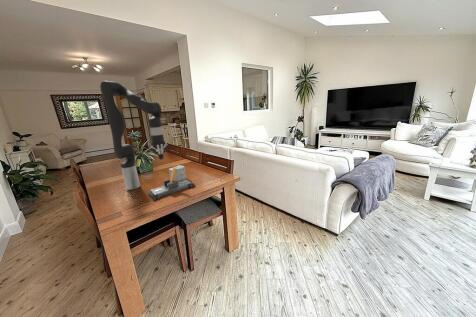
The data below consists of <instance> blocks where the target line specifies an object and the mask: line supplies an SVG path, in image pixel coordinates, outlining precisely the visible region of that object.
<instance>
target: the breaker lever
mask: <svg viewBox="0 0 476 317" xmlns="http://www.w3.org/2000/svg"><path fill="white" fill-rule="evenodd" d="M172 168H173V167H172ZM176 170H177V168H173V170H172V174H171V179H170V178H169V179H170V182H174V179H175V175H176Z"/></svg>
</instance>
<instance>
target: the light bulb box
mask: <svg viewBox="0 0 476 317" xmlns="http://www.w3.org/2000/svg"><path fill="white" fill-rule="evenodd" d="M173 168H177V170H176V175H175V179H174V181H181V180H184V179H186V180H187V175H186V169H185V166H184V165H181V164H179V165H176V166H174V167H171V168H168V173H169V177H170V178H171V174H172V170H173ZM170 178H169V179H170Z"/></svg>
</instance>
